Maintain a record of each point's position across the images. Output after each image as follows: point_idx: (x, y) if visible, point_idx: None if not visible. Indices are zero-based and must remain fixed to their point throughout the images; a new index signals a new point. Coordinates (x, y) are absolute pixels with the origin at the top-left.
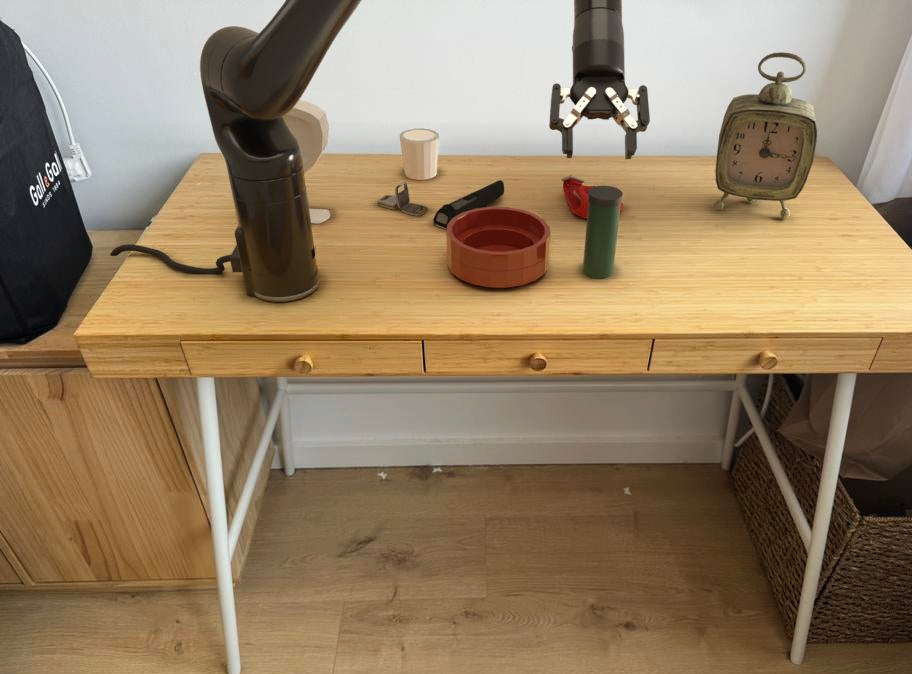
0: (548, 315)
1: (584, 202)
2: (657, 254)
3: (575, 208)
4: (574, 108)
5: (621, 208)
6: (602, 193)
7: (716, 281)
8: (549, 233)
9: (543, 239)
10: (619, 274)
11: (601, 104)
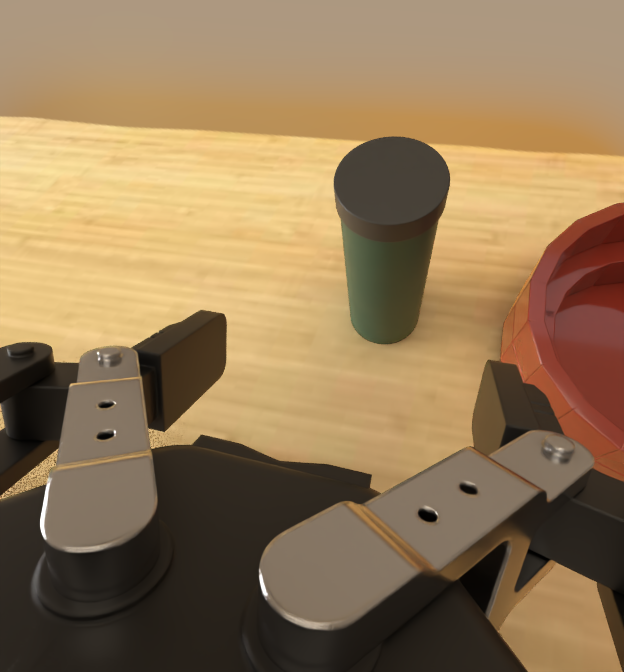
0: (522, 185)
1: None
2: None
3: None
4: (527, 484)
5: None
6: (403, 172)
7: (168, 249)
8: (533, 281)
9: (554, 253)
10: (341, 296)
11: (243, 493)
